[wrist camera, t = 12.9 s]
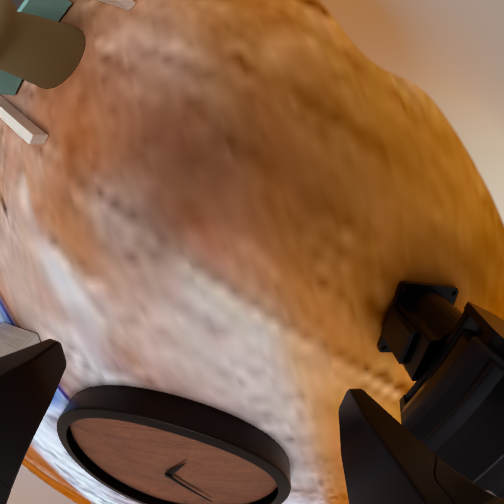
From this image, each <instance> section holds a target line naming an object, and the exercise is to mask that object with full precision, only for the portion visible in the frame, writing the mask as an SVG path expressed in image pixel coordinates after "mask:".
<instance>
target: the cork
mask: <svg viewBox="0 0 504 504" xmlns="http://www.w3.org/2000/svg"><path fill="white" fill-rule="evenodd" d="M84 48H85V36H84V33H83V31H82V30H80V29H79V28H77V27H74V26H71V25H68V24H64V23H61V22H58V21H54V20H51V19H47V18H43V17H40V16H36V15H31V14H27V13H23V12H18V11H17V9H16V5H15V4H14V3H13V2H12V1H11V0H0V70H2V71H5V72H7V73H9V74H12V75H14V76H16V77H19V78H21V79H23V80H26V81H28V82H30V83H32V84H35V85H37V86H39V87H41V88H45V89H49V88H54V87H56V86H58V85H59V84H61V83H63V82H64V81H65V80H66V79H67V78H68V77H69V76H70V75H71V74H72V72H73V71H74V70H75V68H76V67H77V65H78V63H79V62H80V60H81V58H82V55H83V52H84Z"/></svg>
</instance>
